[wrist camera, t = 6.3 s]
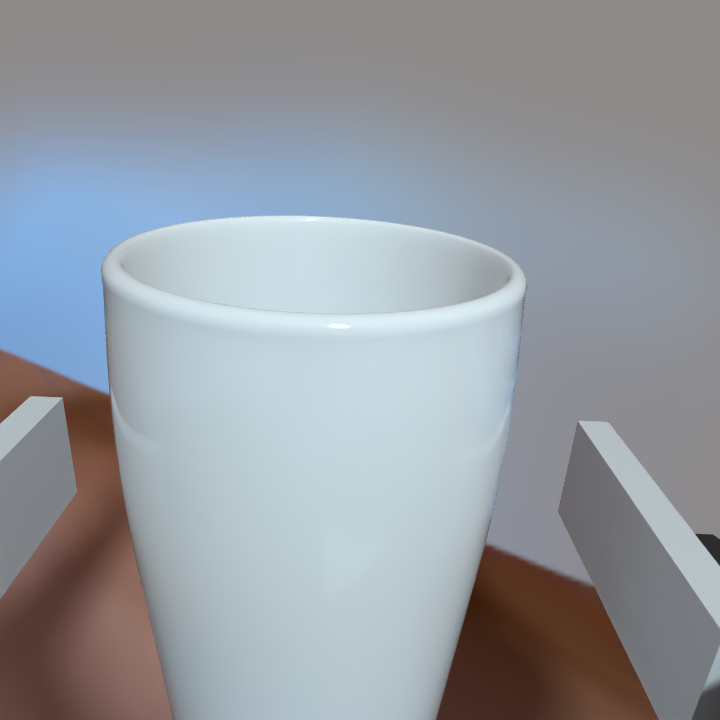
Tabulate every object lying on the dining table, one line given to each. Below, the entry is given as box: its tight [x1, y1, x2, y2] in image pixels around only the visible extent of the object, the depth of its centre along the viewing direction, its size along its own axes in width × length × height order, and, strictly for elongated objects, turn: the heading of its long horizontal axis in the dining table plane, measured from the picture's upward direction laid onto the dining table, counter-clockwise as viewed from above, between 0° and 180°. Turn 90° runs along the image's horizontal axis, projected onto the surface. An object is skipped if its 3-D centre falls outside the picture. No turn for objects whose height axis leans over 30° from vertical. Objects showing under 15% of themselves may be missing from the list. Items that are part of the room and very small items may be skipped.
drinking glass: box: [101, 216, 527, 720], centre depth 13 cm, size 7×7×15 cm
